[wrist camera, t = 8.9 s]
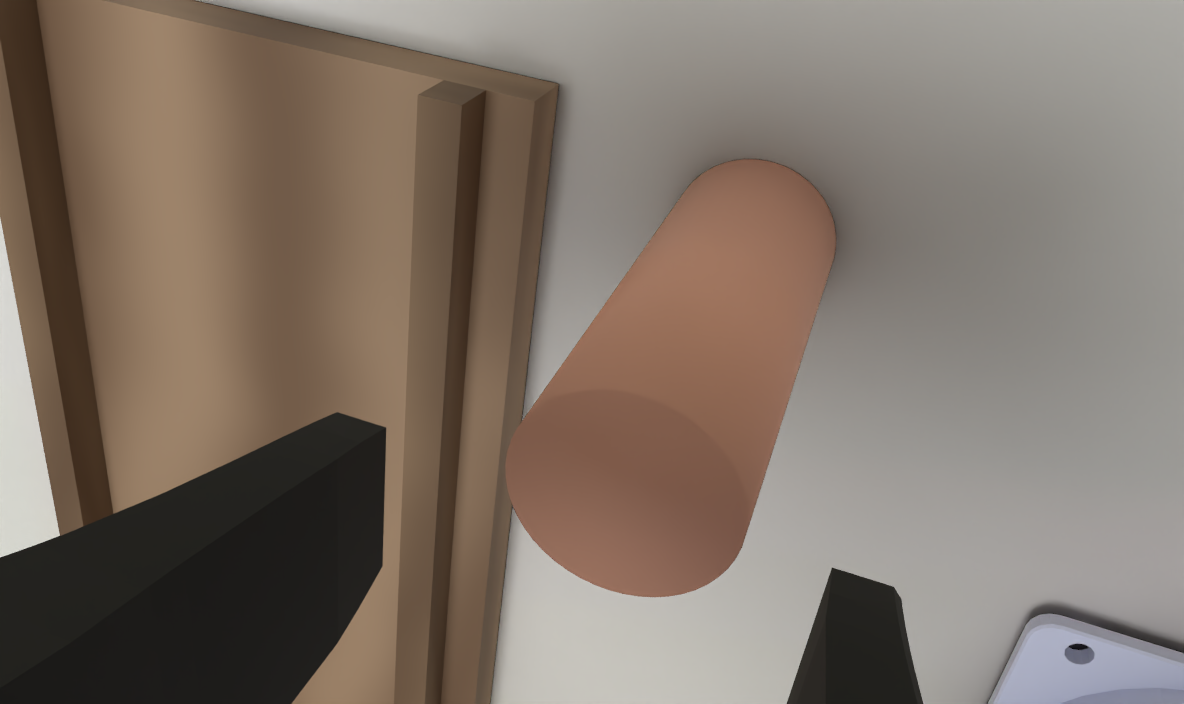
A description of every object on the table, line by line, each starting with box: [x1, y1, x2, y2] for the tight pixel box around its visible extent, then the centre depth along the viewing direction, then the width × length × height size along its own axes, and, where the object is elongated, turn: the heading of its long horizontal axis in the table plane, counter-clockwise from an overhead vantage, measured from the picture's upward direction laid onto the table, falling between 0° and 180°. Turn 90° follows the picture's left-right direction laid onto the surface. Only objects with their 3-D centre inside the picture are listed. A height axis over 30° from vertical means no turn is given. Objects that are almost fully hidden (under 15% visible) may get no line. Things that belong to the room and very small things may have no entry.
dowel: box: [505, 159, 836, 597], centre depth 16 cm, size 3×3×8 cm
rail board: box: [0, 0, 559, 704], centre depth 25 cm, size 12×30×7 cm, turn 173°
